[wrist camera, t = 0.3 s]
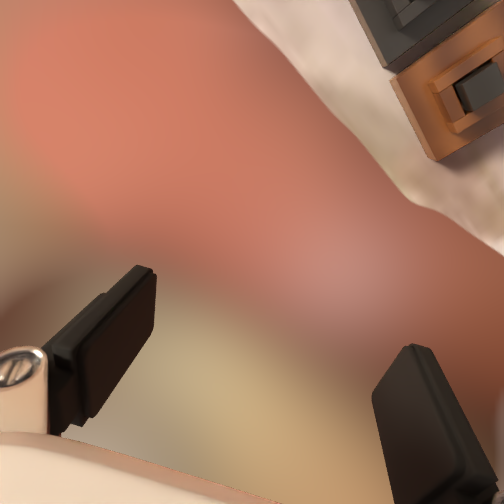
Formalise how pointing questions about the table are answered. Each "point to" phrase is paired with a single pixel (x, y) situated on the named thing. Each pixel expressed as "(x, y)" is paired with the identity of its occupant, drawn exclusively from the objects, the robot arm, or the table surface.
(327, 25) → the table surface
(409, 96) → the block walnut
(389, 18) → the block black
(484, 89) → the key ebony
